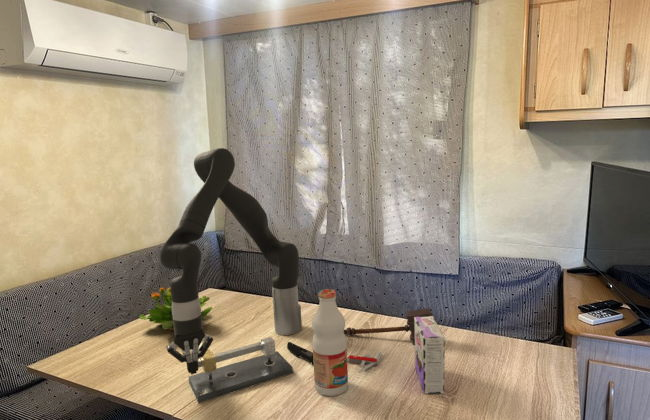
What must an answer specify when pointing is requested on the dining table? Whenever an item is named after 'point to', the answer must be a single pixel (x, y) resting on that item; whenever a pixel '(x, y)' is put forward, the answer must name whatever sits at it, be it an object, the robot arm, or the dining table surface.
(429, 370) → the candy box
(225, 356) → the steel beam
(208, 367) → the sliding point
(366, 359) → the swiss army knife
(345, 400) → the dining table surface
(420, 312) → the hammer
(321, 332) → the fruit juice
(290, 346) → the electric trimmer
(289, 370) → the bolt hole plate
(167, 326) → the potted flower
